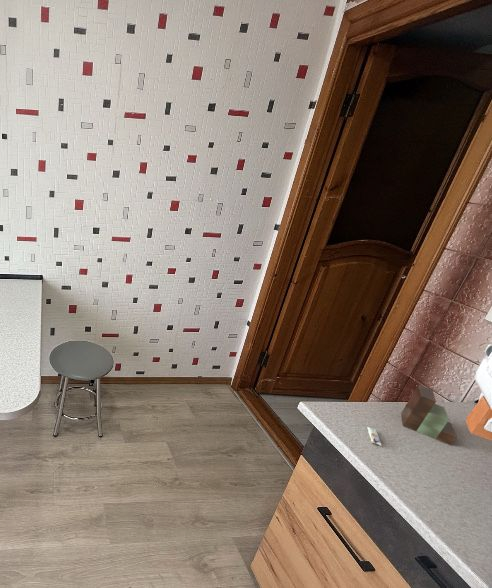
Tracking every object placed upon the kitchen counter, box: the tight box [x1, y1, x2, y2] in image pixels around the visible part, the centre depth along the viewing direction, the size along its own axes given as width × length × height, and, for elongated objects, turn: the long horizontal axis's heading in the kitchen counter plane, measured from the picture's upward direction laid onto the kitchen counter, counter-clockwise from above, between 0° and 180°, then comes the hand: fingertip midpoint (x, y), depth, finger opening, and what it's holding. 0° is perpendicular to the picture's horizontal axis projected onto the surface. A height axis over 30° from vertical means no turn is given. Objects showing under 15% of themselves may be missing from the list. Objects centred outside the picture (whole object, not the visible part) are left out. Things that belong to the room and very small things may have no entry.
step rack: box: [400, 384, 457, 446], centre depth 94 cm, size 10×7×11 cm
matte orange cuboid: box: [465, 396, 492, 441], centre depth 70 cm, size 3×5×7 cm, turn 141°
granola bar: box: [366, 426, 382, 447], centre depth 91 cm, size 7×2×1 cm, turn 150°
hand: (484, 420), depth 70 cm, fingers closed on matte orange cuboid, 5 cm apart
